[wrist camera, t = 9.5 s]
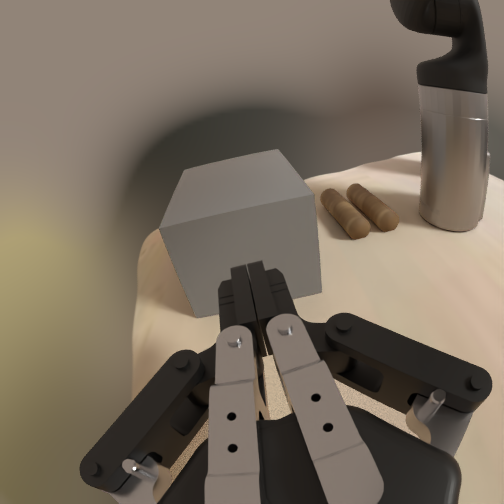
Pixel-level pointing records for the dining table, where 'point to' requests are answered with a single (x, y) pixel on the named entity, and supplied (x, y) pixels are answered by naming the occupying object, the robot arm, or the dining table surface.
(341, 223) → the roller
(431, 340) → the dining table surface
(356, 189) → the roller
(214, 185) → the grey rectangular block
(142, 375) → the dining table surface
